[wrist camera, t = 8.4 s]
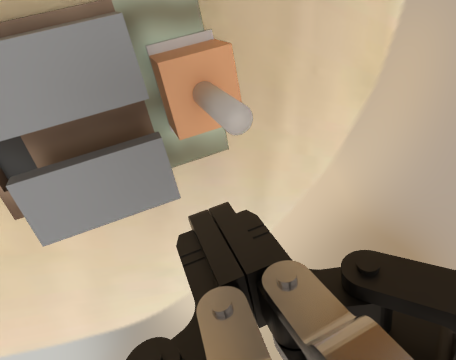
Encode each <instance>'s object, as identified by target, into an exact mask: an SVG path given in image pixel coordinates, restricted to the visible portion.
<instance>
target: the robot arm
mask: <svg viewBox="0 0 456 360" xmlns="http://www.w3.org/2000/svg"><path fill="white" fill-rule="evenodd" d="M188 218H189V222H190V225H191V228H192V230H191V231H189V232H186V233H183V234H181V235H179V237H178V241H177V245H176V247H177V250H178V253H179V256H180V259H181V262H182V265H183V268H184V271H185V274H186V276H187V279H188V282H189V285H190V288H191V291H192V294H193V297H194V300H195V312H194V315H193V317H192V320H191V321H190V323H189V324H188V325H187V326H186V328H185V329H184V330H183V331H181V332H180V333H179V334H178V335H176V336H175V337H174V338H173V339H171V340H170V339H168V338H163V337H155V338H151V339H149V340H146V341H144V342H142V343H141V344H140V345H138V346H137V347H136V348H135V349H134V350H133V351H132V352H131V353H130V355H129V356H128V358H127V359H126V360H272V359H271V357H270V355H269V352H268V350H267V347H266V345H265V343H264V341H263V338H262V335H261V333H260V331H259V328H261V327H263V326H265V325H268V327H269V329H270V331H271V332H272V334H273V339H274V344H275V347H276V348H277V350H278V352H279V354H280V355H281V357H282V358H283V360H456V270H452V269H448V268H444V267H439V266H435V265H431V264H426V263H422V262H418V261H414V260H410V259H405V258H401V257H397V256H392V255H388V254H384V253H380V252H376V251H371V250H359V251H354V252H352V253H350V254H348V255H347V256H346V257H345V258H344V259H343V261H342V263H341V267H338V268H331V269H323V270H312V269H308V268H307V267H306V266H305V265H303V264H301V263H299V262H296V261H292V259H291V258H290V257H289V256H288V254H287V253H286V252H285V250H284V249H283V248H282V247H281V245H280V244H279V243H278V242H277V240H276V239H275V238H274V236H273V235H272V234H271V233H270V232H269V230H268V229H267V227H266V226H264V224H263V222H262V221H261V220H260V218H259V217H258V216H257V215H255V214H253V213H251V212H249V211H247V210H244V211H242V212H239V213H235V211H234V210H233V209H232V207H231V206H230V204H229V203H228V202H226V203H223V204H221V205H218V206H215V207H212V208H210V209H209V211H208V210H205V211H202V212H199V213H196V214H194V215H191V216H188ZM258 327H259V328H258Z"/></svg>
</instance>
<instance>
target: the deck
mask: <svg viewBox="0 0 456 360" xmlns="http://www.w3.org/2000/svg"><path fill="white" fill-rule="evenodd" d="M111 12H121V13H122V14H123V17H124V20H125V23H126V27H127V30H128V33H129V36H130V39H131V42H132V46H133V49H134V52H135V55H136V58H137V61H138V65H139V68H140V71H141V74H142V77H143V80H144V83H145V87H146V90H147V93H148V96H149V99H147V100H143V101H140V102H136V103H133V104H129V105H126V106H122V107H119V108H115V109H112V110H108V111H105V112H101V113H98V114H94V115H91V116H87V117H84V118H80V119H77V120H73V121H70V122H66V123H63V124H59V125H56V126H52V127H49V128H45V129H42V130H38V131H35V132H31V133H28V134H24V135H21V136H17V137H14V138H10V139H7V140H3V141H0V197H1V199H2V200H3V202H4V203H5V205H6V207H7V208H8V210H9V211H10V213H11V214H12V216H13V217H14V219H15V220H17V219H20V218H23V217H24V215H23V214H22V212H21V210H20V209H19V207H18V206H17V204H16V202H15V201H14V199H13V198H12V196H11V194H10V193H9V191H8V190H7V188H6V184H7V182H8V180H9V178H10V177H12V176H15V175H18V174H22V173H25V172H28V171H31V170H35V169H38V168H41V167H44V166H48V165H51V164H54V163H57V162H61V161H64V160H67V159H70V158H74V157H77V156H80V155H83V154H87V153H90V152H93V151H96V150H100V149H103V148H106V147H109V146H113V145H116V144H119V143H122V142H126V141H129V140H132V139H135V138H139V137H142V136H145V135H148V134H152V133H155V132H159V133H160V135H161V137H162V140H163V143H164V147H165V150H166V153H167V156H168V159H169V162H170V166H171V168H173V167H176V166H179V165H182V164H185V163H188V162H191V161H194V160H197V159H200V158H203V157H206V156H209V155H212V154H215V153H218V152H221V151H224V150H227V149H229V147H228V142H227V137H226V132H225V129H224V128H223V127H221V128H218V129H214V130H211V131H208V132H205V133H202V134H199V135H196V136H192V137H189V138H186V139H183V140H179V139H178V137H177V136H176V134H175V132H174V131H173V132H171V130H170V127H169V123H168V120H167V117H166V113H165V110H164V107H163V103H162V100H161V97H160V93H159V90H158V87H157V83H156V80H155V77H154V73H153V70H152V66H151V63H150V60H149V56H148V53H147V50H146V45H150V44H154V43H158V42H161V41H165V40H169V39H173V38H177V37H181V36H185V35H189V34H193V33H197V32H201V31H204V28H203V23H202V18H201V13H200V9H199V4H198V0H99V1H95V2H90V3H86V4H81V5H77V6H72V7H68V8H63V9H58V10H54V11H49V12H45V13H40V14H36V15H31V16H27V17H22V18H18V19H13V20H8V21H4V22H0V38H2V37H6V36H11V35H15V34H20V33H24V32H28V31H33V30H37V29H41V28H46V27H50V26H55V25H59V24H63V23H68V22H72V21H76V20H81V19H85V18H90V17H94V16H98V15H103V14H107V13H111Z"/></svg>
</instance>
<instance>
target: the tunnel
mask: <svg viewBox="0 0 456 360" xmlns="http://www.w3.org/2000/svg"><path fill="white" fill-rule="evenodd" d="M147 99H149V96H148V93H147V90H146V87H145V83H144V80H143V77H142V74H141V71H140V68H139V65H138V61H137V58H136V55H135V52H134V49H133V46H132V42H131V39H130V36H129V33H128V30H127V27H126V23H125V20H124V17H123V14H122V13H121V12H111V13H107V14H103V15H98V16H94V17H90V18H85V19H81V20H76V21H72V22H68V23H63V24H59V25H55V26H50V27H46V28H41V29H37V30H33V31H28V32H24V33H20V34H15V35H11V36H6V37H2V38H0V141H3V140H7V139H10V138H14V137H17V136H21V135H24V134H28V133H31V132H35V131H38V130H42V129H45V128H49V127H52V126H56V125H59V124H63V123H66V122H70V121H73V120H77V119H80V118H84V117H87V116H91V115H94V114H98V113H101V112H105V111H108V110H112V109H115V108H119V107H122V106H126V105H129V104H133V103H136V102H140V101H143V100H147ZM6 188H7V190H8V191H9V193H10V194H11V196H12V198H13V199H14V201H15V202H16V204H17V206H18V207H19V209H20V210H21V212H22V214H23V215H24V217H25V218H26V220H27V222H28V223H29V225H30V226H31V228H32V230H33V231H34V233H35V235H36V236H37V238H38V239H39V241H40V243H41V244H42V246H43V247H44V246H46V245H49V244H52V243H55V242H58V241H61V240H63V239H66V238H69V237H72V236H75V235H78V234H80V233H83V232H86V231H89V230H92V229H95V228H97V227H100V226H103V225H106V224H109V223H112V222H114V221H117V220H120V219H123V218H126V217H128V216H131V215H134V214H137V213H140V212H143V211H145V210H148V209H151V208H154V207H157V206H160V205H162V204H165V203H168V202H171V201H174V200H177V199H179V198H181V197H180V194H179V191H178V188H177V184H176V181H175V178H174V175H173V172H172V169H171V166H170V162H169V159H168V156H167V153H166V150H165V147H164V143H163V140H162V137H161V135H160V133H159V132H155V133H152V134H148V135H145V136H142V137H139V138H135V139H132V140H129V141H126V142H122V143H119V144H116V145H113V146H109V147H106V148H103V149H100V150H96V151H93V152H90V153H87V154H83V155H80V156H77V157H74V158H70V159H67V160H64V161H61V162H57V163H54V164H51V165H48V166H44V167H41V168H38V169H35V170H31V171H28V172H25V173H22V174H18V175H15V176H12V177H10V178H9V180H8V182H7V184H6Z"/></svg>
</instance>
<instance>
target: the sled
mask: <svg viewBox="0 0 456 360" xmlns="http://www.w3.org/2000/svg"><path fill="white" fill-rule="evenodd" d="M146 50H147V53H148V56H149V60H150V63H151V66H152V70H153V73H154V77H155V80H156V83H157V87H158V90H159V93H160V97H161V100H162V103H163V107H164V110H165V113H166V117H167V120H168V123H169V127H170V130H171V132H173V131H174V132H175V134H176V136H177V137H178V139H179V140H183V139H186V138H189V137H192V136H196V135H199V134H202V133H205V132H208V131H211V130H214V129H218V128H221V127H223V128H224V129H225V130H226V131H227V132H228V133H230V134H232V135H240V134H243V133H245V132H246V131H247V130H248V129H249V128H250V126H251V124H252V121H253V115H252V112H251V110H250V108H249V107H248V106H246V105H245V104H243V103H242V101H241V95H240V89H239V84H238V78H237V72H236V67H235V61H234V55H233V50H232V44H231V43H227V42H223V41H220V40H216V39H214V38H213V33H212V29H209V30H205V31H201V32H197V33H193V34H189V35H185V36H181V37H177V38H173V39H169V40H165V41H161V42H158V43H154V44H150V45H146Z"/></svg>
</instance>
